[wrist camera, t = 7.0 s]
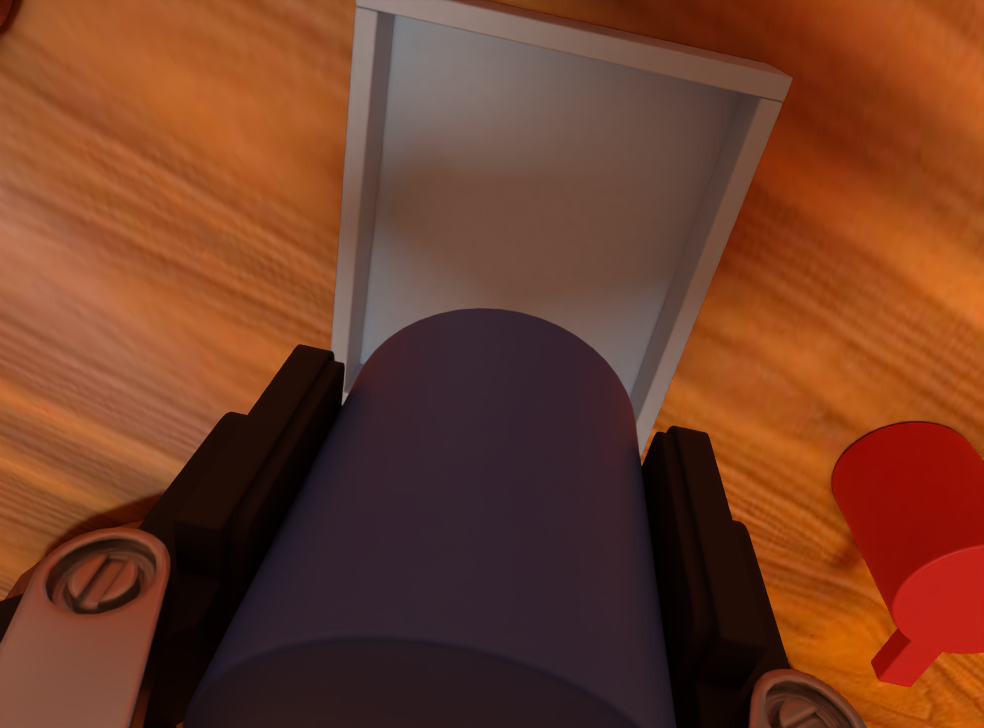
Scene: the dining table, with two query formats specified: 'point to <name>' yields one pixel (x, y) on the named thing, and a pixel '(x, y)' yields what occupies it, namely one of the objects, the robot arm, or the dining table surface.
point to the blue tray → (541, 179)
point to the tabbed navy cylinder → (459, 550)
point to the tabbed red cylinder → (919, 540)
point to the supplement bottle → (4, 10)
